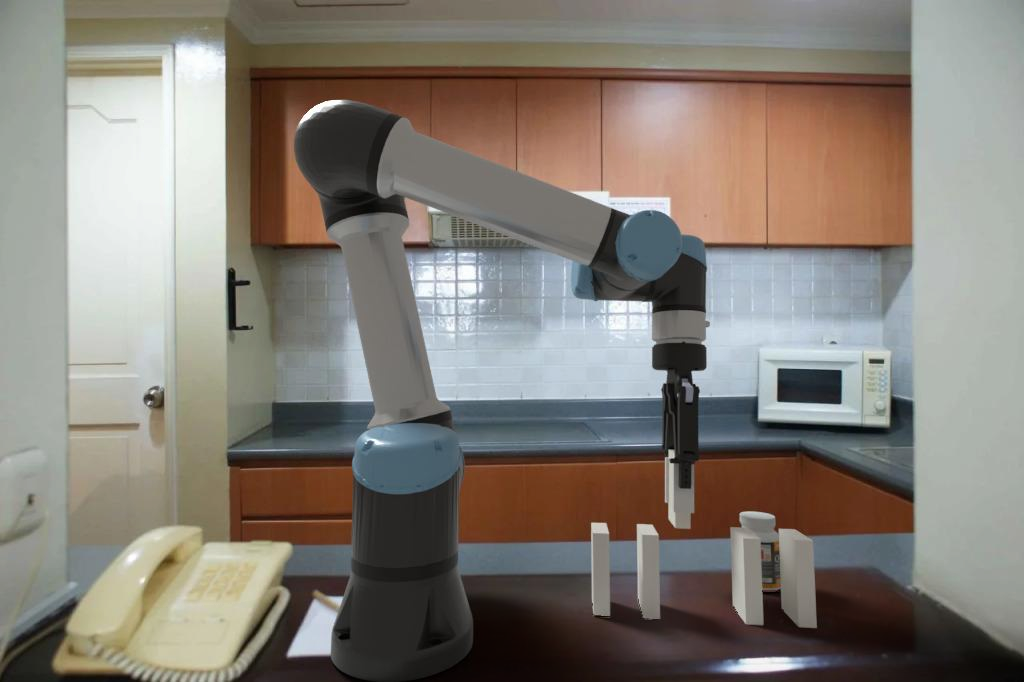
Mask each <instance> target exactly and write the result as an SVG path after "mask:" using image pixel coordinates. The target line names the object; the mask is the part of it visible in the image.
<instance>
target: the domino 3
mask: <svg viewBox="0 0 1024 682" xmlns="http://www.w3.org/2000/svg"><path fill="white" fill-rule="evenodd" d="M674 457H675V452H674V450H669V459H671V458H674ZM667 504H668V506H667V507H668V509H667V510H668V511H667V512H668V518H667V519H668V521H669V522H670V523H671V525H673V527H674V528H675V529H685V530H691V528H692V527H691V522H692V521H691V514H692V513H680V512H673V463H670V462H669V486H668V503H667Z"/></svg>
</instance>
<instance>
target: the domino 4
mask: <svg viewBox="0 0 1024 682" xmlns="http://www.w3.org/2000/svg"><path fill="white" fill-rule="evenodd" d="M730 553H731V554H730V557H731V558H730V559H731V582H732V583H731V587H732V588H731V592H732V607H733V606H734V607H735V609H736V610H735V609H734V610H735V611H737V612H738V613H737V612H736V613H737V614H738V615H739V617H740V619H742V621H743V622H744V624H745V625H750V626H751V625H753V626H765V625H764V602H763V596H764V595H763V592H762V568H761V540H760V538H759V537H757V536H756V535H755V534H754V533H752V532H751V531H750V530H749V529H747V528H743V527H742V526H741V527H740V526H739V527H737V526H736V527H735V526H734V527H733V526H730Z"/></svg>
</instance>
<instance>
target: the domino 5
mask: <svg viewBox="0 0 1024 682" xmlns="http://www.w3.org/2000/svg"><path fill="white" fill-rule="evenodd" d="M778 534H779V553H780V579H781V590H780V597H781V598H780V599H781V610H782V609H783V610H784V611H783V610H782V611H783V612H784V613H785V615H787V617H788V618H790V619H791V620H792V622H793V623H794V624H795V625H796V626H797V627H798V628H810V629H817V628H818V625H817V623H818V621H817V602H816V601H817V600H816V581H815V580H816V579H815V578H816V577H815V576H816V573H815V557H814V553H815V552H814V540H813V539H811V538H809V537H808V536H806V535H805V534H803V533H802V532H800V531H799V530H797V529H795V528H778Z"/></svg>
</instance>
